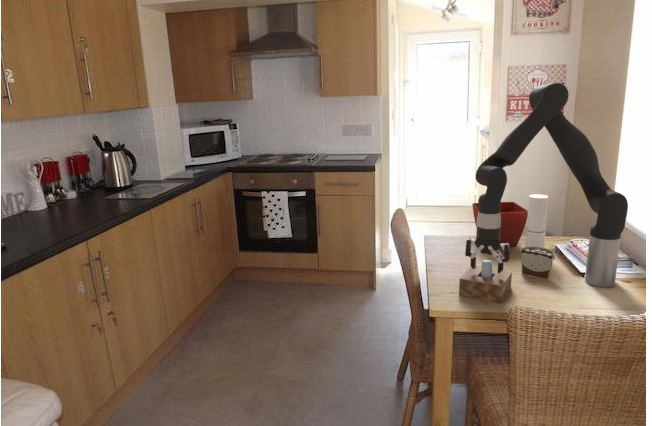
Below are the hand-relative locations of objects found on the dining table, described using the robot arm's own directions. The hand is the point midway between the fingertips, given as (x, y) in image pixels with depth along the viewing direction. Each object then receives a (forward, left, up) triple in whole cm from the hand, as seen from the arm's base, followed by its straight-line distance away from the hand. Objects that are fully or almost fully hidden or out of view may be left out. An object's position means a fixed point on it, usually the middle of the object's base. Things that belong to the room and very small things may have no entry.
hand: (486, 270), depth 163 cm
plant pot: (+9, -55, -8) cm, 56 cm away
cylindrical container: (-8, -46, -8) cm, 47 cm away
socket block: (0, 0, -8) cm, 8 cm away
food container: (-13, -24, -8) cm, 28 cm away
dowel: (0, 0, -7) cm, 7 cm away
